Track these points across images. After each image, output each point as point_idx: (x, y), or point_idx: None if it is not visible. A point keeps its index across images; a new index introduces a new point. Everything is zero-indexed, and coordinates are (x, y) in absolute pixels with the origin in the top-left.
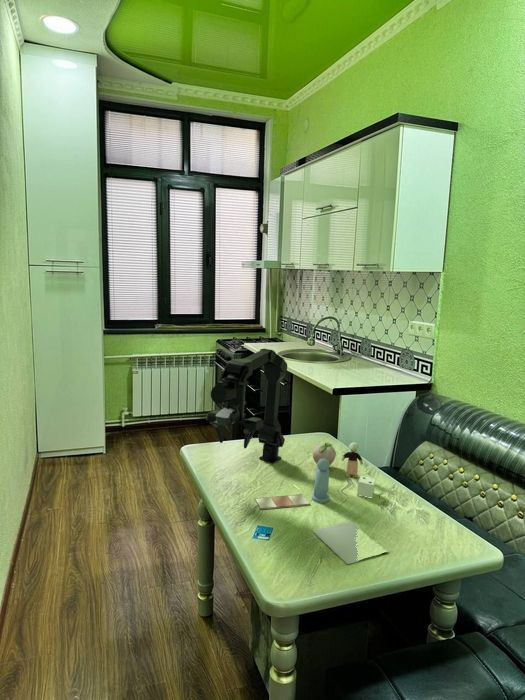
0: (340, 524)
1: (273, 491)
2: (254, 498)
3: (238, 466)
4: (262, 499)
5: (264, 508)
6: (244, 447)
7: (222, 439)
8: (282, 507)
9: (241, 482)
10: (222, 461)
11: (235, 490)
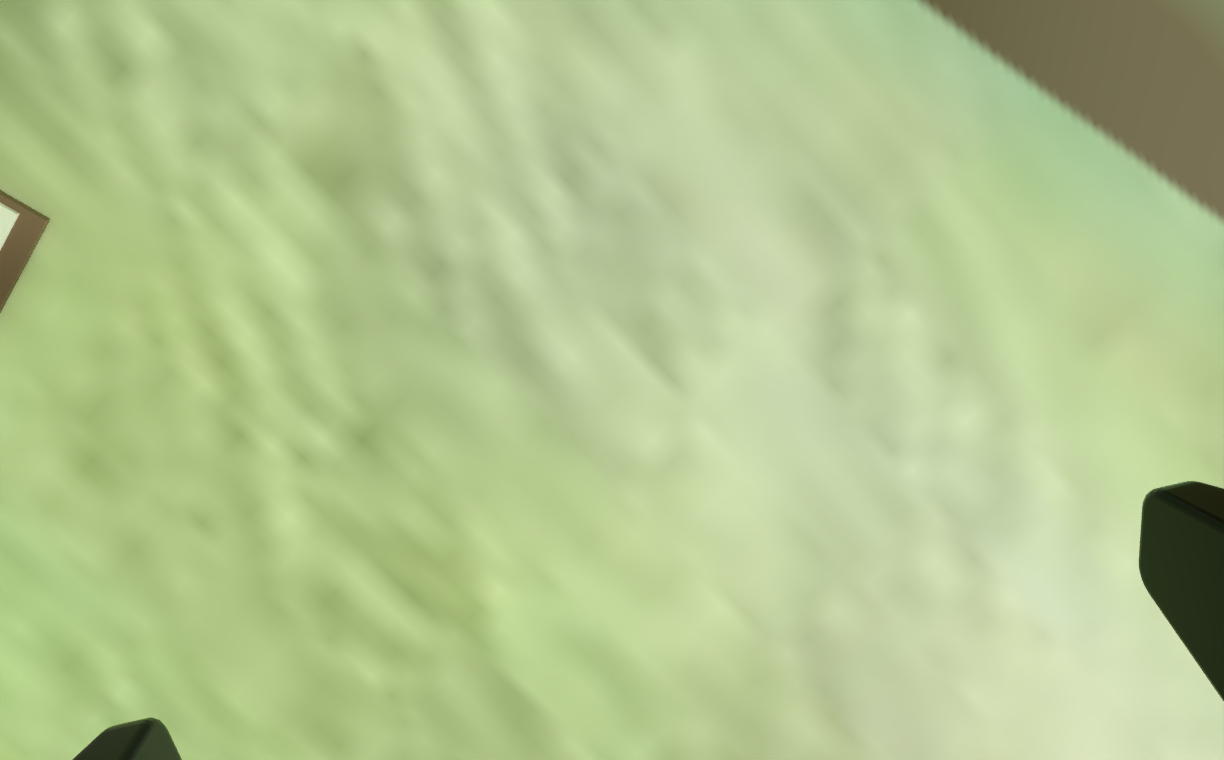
0: None
1: (65, 571)
2: (41, 217)
3: (884, 733)
4: None
5: None
6: (113, 741)
7: (1216, 629)
8: None
9: (550, 452)
10: (1130, 688)
11: (435, 214)
